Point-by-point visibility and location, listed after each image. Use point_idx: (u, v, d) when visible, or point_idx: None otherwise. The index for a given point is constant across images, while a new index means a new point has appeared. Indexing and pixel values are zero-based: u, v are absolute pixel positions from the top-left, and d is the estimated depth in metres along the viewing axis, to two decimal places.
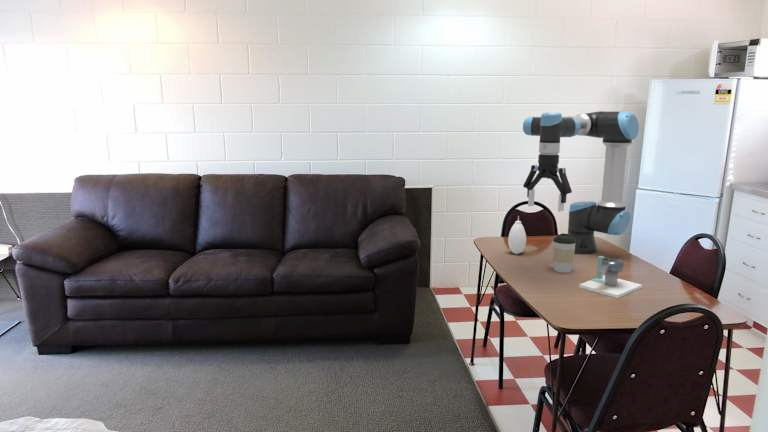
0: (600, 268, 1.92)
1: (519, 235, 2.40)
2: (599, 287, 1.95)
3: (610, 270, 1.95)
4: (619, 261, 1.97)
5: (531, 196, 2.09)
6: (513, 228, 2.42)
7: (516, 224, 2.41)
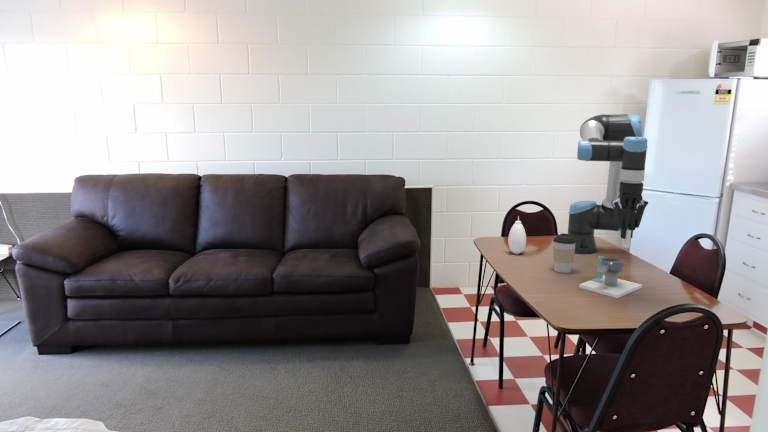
0: (600, 268, 1.92)
1: (519, 235, 2.40)
2: (599, 287, 1.95)
3: (610, 270, 1.95)
4: (619, 261, 1.97)
5: None
6: (513, 228, 2.42)
7: (516, 224, 2.41)
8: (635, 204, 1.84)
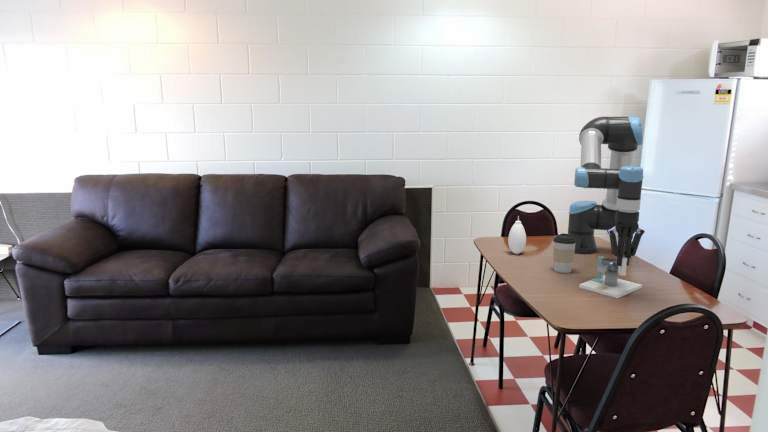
0: (600, 268, 1.92)
1: (519, 235, 2.40)
2: (599, 287, 1.95)
3: (610, 270, 1.95)
4: None
5: None
6: (513, 228, 2.42)
7: (516, 224, 2.41)
8: (631, 233, 1.86)
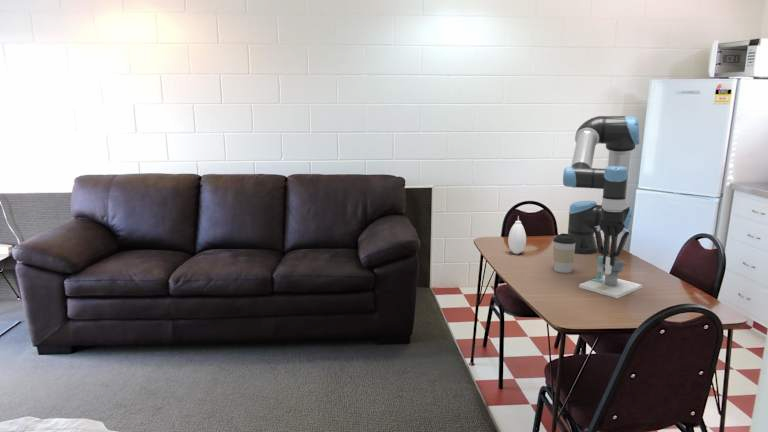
0: (600, 268, 1.92)
1: (519, 235, 2.40)
2: (599, 287, 1.95)
3: None
4: (619, 261, 1.97)
5: None
6: (513, 228, 2.42)
7: (516, 224, 2.41)
8: (612, 232, 1.87)
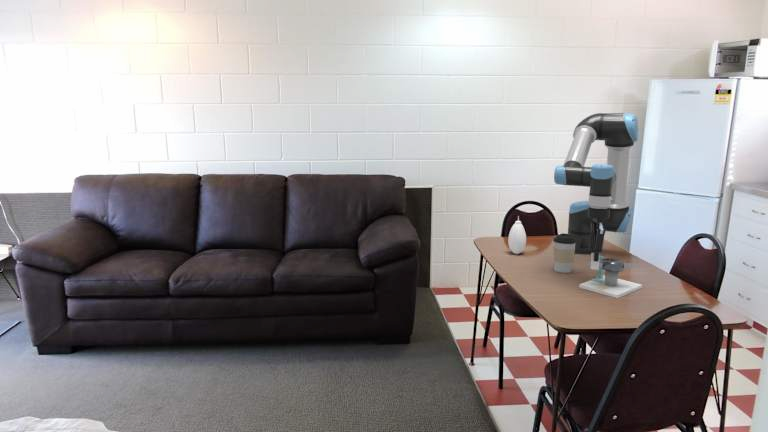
0: (588, 262, 1.99)
1: (519, 235, 2.40)
2: (599, 287, 1.95)
3: (602, 268, 1.97)
4: (618, 262, 1.95)
5: None
6: (513, 228, 2.42)
7: (516, 224, 2.41)
8: (593, 228, 1.94)
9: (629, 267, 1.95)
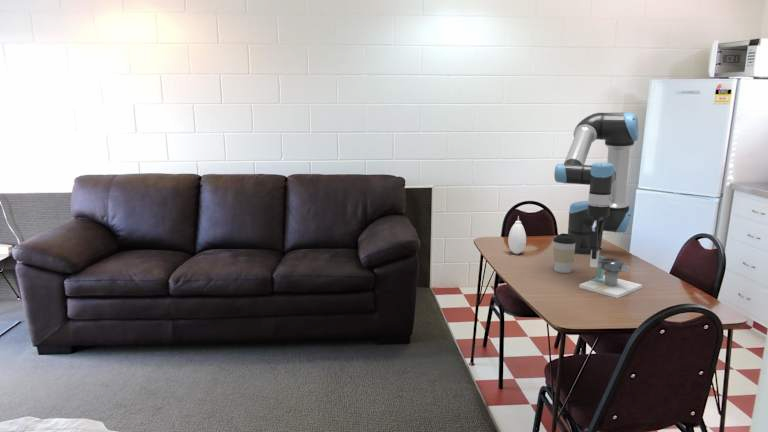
0: None
1: (519, 235, 2.40)
2: (599, 287, 1.95)
3: (601, 266, 1.99)
4: (615, 263, 1.95)
5: None
6: (513, 228, 2.42)
7: (516, 224, 2.41)
8: None
9: (626, 269, 1.93)
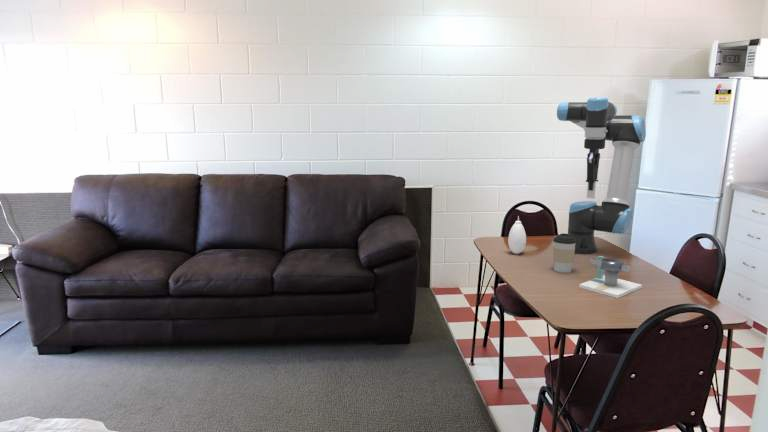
0: None
1: (519, 235, 2.40)
2: (599, 287, 1.95)
3: (601, 266, 1.99)
4: (615, 263, 1.95)
5: None
6: (513, 228, 2.42)
7: (516, 224, 2.41)
8: None
9: (626, 269, 1.93)
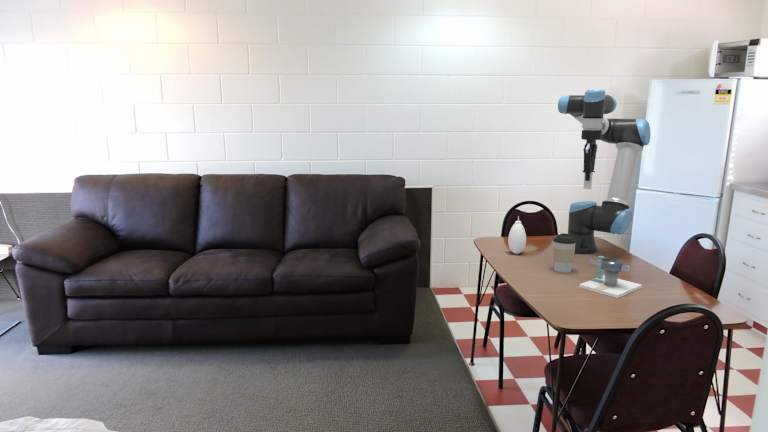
0: None
1: (519, 235, 2.40)
2: (599, 287, 1.95)
3: (601, 266, 1.99)
4: (615, 263, 1.95)
5: None
6: (513, 228, 2.42)
7: (516, 224, 2.41)
8: None
9: (626, 269, 1.93)
